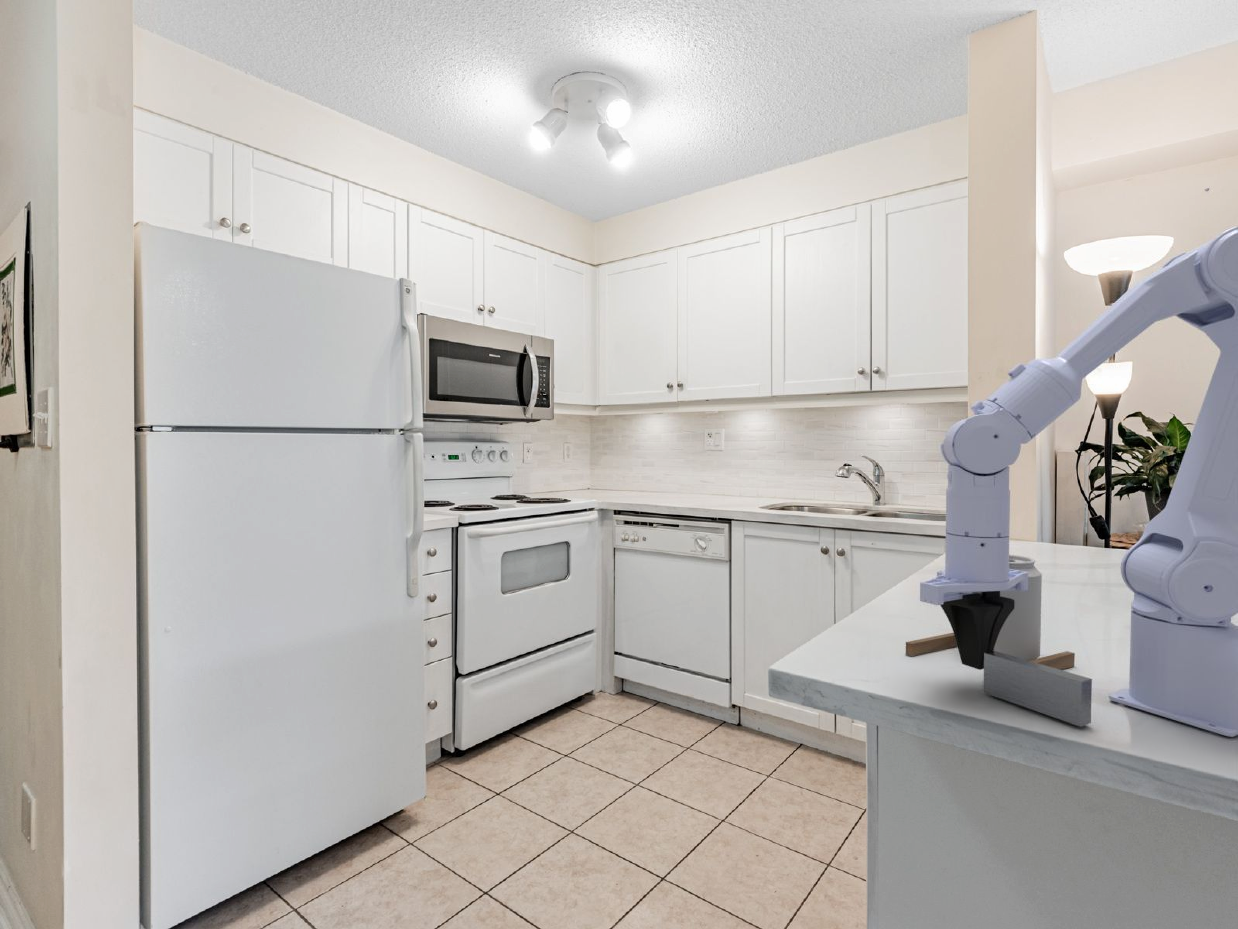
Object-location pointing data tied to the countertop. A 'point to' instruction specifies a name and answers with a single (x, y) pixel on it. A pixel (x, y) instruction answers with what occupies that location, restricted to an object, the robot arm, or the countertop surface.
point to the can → (1023, 614)
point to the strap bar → (1038, 687)
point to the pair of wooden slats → (949, 641)
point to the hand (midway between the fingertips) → (974, 665)
